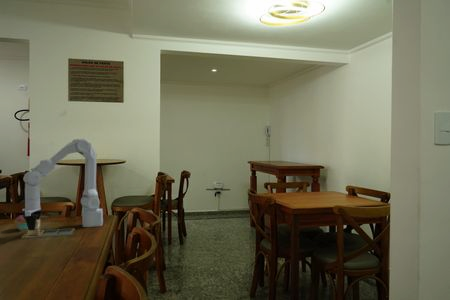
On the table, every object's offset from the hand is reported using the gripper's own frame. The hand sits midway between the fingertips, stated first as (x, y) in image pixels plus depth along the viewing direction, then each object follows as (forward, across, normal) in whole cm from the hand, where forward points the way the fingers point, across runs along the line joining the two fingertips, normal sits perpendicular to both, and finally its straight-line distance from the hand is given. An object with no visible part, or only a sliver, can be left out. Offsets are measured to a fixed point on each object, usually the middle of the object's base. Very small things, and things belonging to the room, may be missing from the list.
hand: (33, 228), depth 144 cm
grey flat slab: (+4, 0, +6) cm, 7 cm away
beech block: (+2, 0, 0) cm, 2 cm away
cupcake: (+4, -15, -8) cm, 17 cm away
